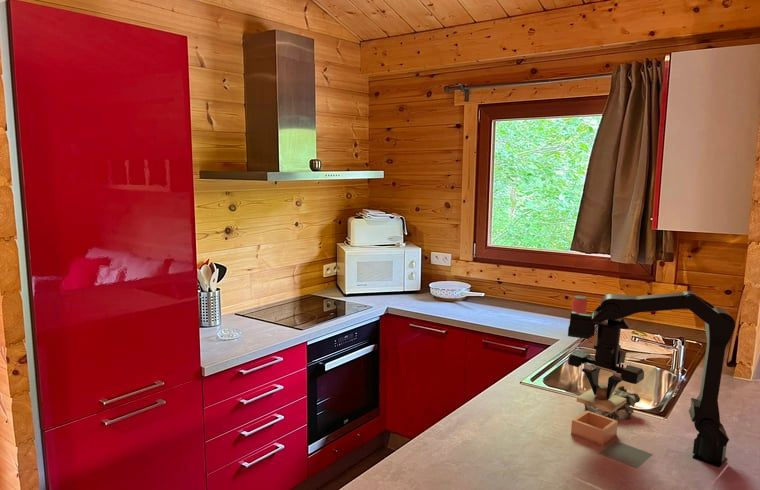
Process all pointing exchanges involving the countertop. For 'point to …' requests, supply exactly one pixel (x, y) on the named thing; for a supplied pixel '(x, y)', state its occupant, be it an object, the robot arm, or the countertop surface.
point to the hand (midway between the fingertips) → (601, 396)
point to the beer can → (579, 304)
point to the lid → (601, 399)
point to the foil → (623, 410)
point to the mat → (625, 454)
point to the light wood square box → (594, 427)
